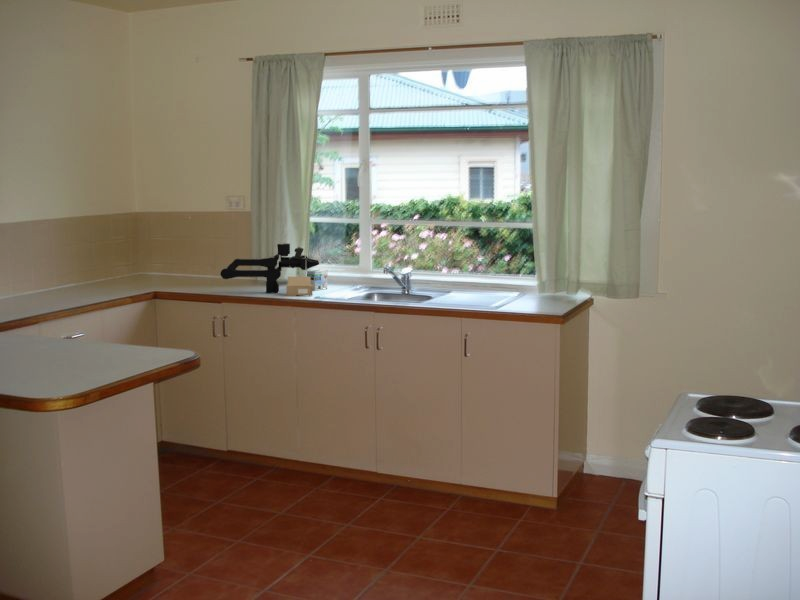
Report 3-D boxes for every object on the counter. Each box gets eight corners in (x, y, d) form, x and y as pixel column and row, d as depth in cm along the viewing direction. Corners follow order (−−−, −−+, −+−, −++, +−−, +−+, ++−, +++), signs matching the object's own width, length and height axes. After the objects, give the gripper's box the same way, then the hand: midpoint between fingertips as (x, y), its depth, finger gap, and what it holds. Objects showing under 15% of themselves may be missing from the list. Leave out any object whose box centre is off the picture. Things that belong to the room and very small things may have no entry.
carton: (285, 296, 463) (285, 286, 462) (285, 293, 473) (285, 283, 473) (312, 296, 465) (312, 286, 464) (311, 293, 475) (311, 283, 474)
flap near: (287, 285, 462) (287, 285, 462) (287, 276, 463) (287, 276, 463) (310, 286, 464) (310, 285, 463) (310, 276, 465) (310, 276, 464)
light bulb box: (315, 290, 485) (315, 271, 484) (306, 289, 489) (306, 270, 488) (327, 289, 494) (328, 270, 492) (319, 287, 498) (319, 269, 496)
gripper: (290, 249, 464) (319, 249, 466) (289, 246, 482) (318, 246, 484) (290, 269, 465) (319, 270, 468) (289, 266, 484) (318, 266, 486)
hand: (318, 262), depth 476 cm, fingers open, 9 cm apart
